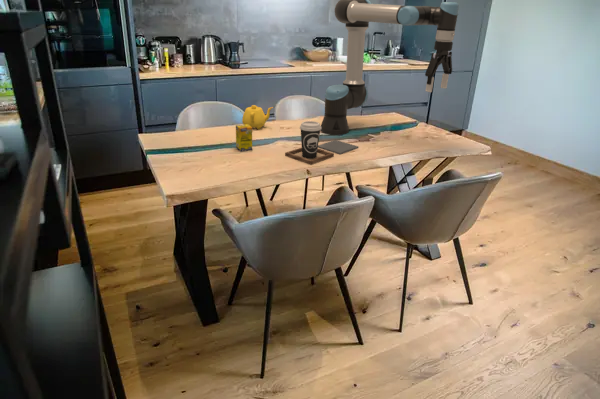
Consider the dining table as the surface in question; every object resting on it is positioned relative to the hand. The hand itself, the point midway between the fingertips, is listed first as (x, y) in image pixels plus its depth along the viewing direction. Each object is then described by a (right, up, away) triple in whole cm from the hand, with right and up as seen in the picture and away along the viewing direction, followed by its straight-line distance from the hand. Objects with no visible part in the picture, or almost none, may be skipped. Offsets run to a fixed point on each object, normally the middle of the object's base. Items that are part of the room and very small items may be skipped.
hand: (436, 90), depth 200 cm
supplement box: (-88, -27, +2) cm, 92 cm away
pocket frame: (-58, -31, -5) cm, 66 cm away
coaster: (-44, -26, +7) cm, 52 cm away
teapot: (-85, -12, +35) cm, 93 cm away
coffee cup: (-58, -31, -5) cm, 66 cm away
